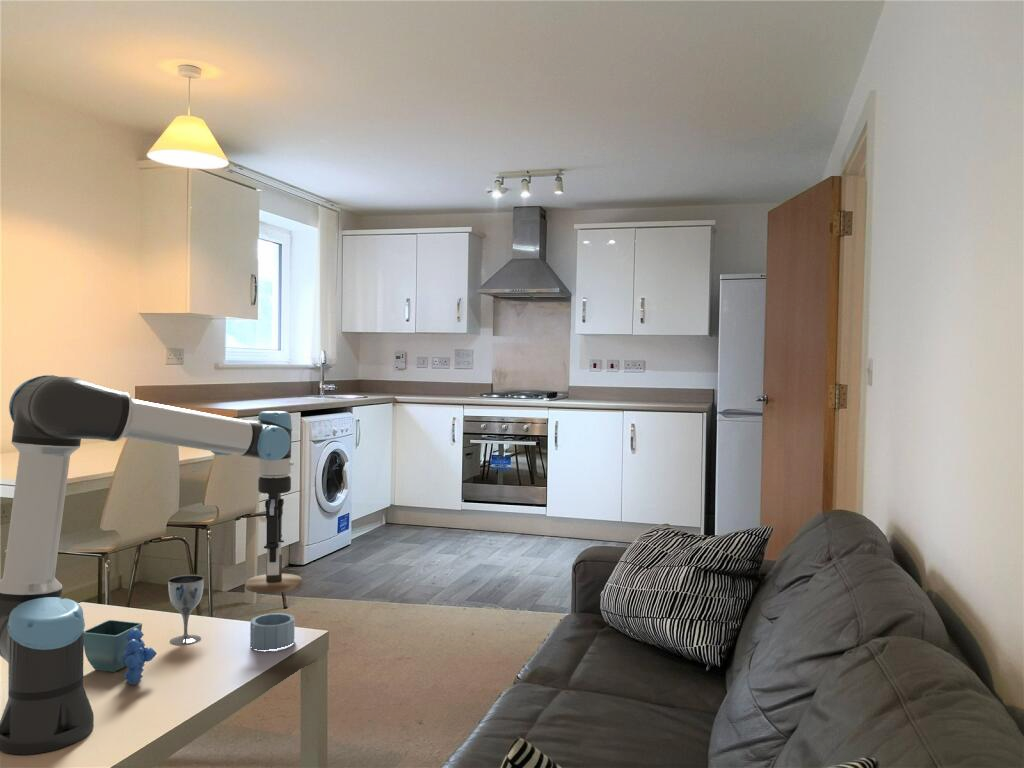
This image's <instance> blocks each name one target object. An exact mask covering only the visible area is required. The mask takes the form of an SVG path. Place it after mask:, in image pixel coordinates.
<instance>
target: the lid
mask: <svg viewBox="0 0 1024 768" xmlns="http://www.w3.org/2000/svg"><path fill="white" fill-rule="evenodd" d="M265 559H266V561H265V562H266V565H265V568H266V570H265V571H266V573H264V574H260V575H256V576H252V577H250V578H247V579H246V581H245V589H246V590H247V591H248V592H252V593H255V594H256V593H258V594H279V593H286V592H290V591H294V590H296V589H299V588H300V587H301V586H302V585H303V579H302V577H301V576H300V575H297V574H293V573H283V555H282V553H281V554H279V575H267V555H266V558H265Z"/></svg>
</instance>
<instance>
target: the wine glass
mask: <svg viewBox="0 0 1024 768" xmlns="http://www.w3.org/2000/svg"><path fill="white" fill-rule="evenodd" d="M204 580H205V578H204V576H203V575H200V574H181V575H176V576H175V575H174V576H173V577H169V579H168V585H167V586H168V596H169V600H170V603H171V605H172V606H173V607H174V608H175V609H176V610H177V611H178V612H179V614H180V615H181V616H182V621H183V634H182V635H180V636H176V637H173V638H171V639H170V641H169V643H170V645H172V646H173V645H174V646H187V645H194V644H195V643H198V642H201V640H202V637H201V636H199V635H197V634H188V626H189V618H190V615H191V613H192V612H193V611H194V609H195V608H196V607H197V606H198V605H199V603H200V602H201V599H202V597H203V594H204V583H205V581H204Z"/></svg>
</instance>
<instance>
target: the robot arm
mask: <svg viewBox="0 0 1024 768" xmlns="http://www.w3.org/2000/svg"><path fill="white" fill-rule="evenodd" d="M8 411H9V415H10V418H11V421H12V422H13V426H12V427H13V428H12V436H11V443H10V444H12V445H13V447H14V448H15V449H16V450H17V451H18V461H17V467H16V475H15V476H16V477H15V482H14V483H15V484H14V491H13V500H12V506H11V514H10V523H9V531H8V537H7V544H6V552H5V554H6V555H5V559H4V568H3V575H2V578H1V579H0V657H1V658H2V659H4V660H5V661H6V662H7V664H8V669H7V670H8V678H7V679H8V681H7V682H8V685H7V687H8V690H7V692H8V698H7V702H6V704H5V707H4V709H3V712H2V715H1V718H0V751H1V752H3V753H7V754H10V755H35V754H41V753H46V752H51V751H52V752H53V751H55V750H56V751H57V750H59V749H63V748H65V747H68V746H71V745H73V744H75V743H78V742H79V741H81V740H82V739H84V738H86V737H87V736H88V735H90V734H91V732H92V731H93V729H94V724H95V723H94V720H95V719H94V718H95V717H94V712H93V711H94V710H93V708H92V706H91V704H90V701H89V698H88V694H87V693H86V690H85V688H84V654H85V650H84V631H85V627H86V623H85V622H86V621H85V617H84V610H83V608H82V606H81V605H80V603H79V602H77V601H75V600H73V599H70V598H66V597H65V598H62V593H63V584H62V582H60V581H59V580H58V579H57V578H56V570H57V564H58V554H59V547H60V538H61V531H62V524H63V516H64V515H63V514H64V508H65V499H66V492H67V484H68V475H69V468H70V467H69V466H70V460H71V455H72V454H74V453H75V452H76V451H77V450H78V449H80V448H81V442H82V440H101V441H108V442H118V441H119V440H121V439H122V438H123V439H124V438H125V439H131V440H137V441H145V442H150V443H151V442H152V443H158V444H163V445H164V444H165V445H170V446H176V447H177V446H178V447H183V448H189V449H190V448H191V449H197V450H204V451H209V452H211V453H212V454H213V455H215V456H230V455H236V456H242V457H246V458H247V457H248V458H252V459H253V458H254V459H258V460H257V464H258V465H257V474H258V475H259V477H258V478H257V479H258V480H257V481H258V484H257V486H258V487H257V490H258V492H259V493H261V494H264V495H265V494H267V495H268V498H266V500H265V502H264V507H265V519H266V543H265V545H263V549H266V556H267V575H279V554H281V555H282V543H285V538H282V537H283V534H282V526H283V525H282V522H283V521H282V519H283V518H282V517H283V514H284V513H283V512H284V509H283V506H284V503H285V501H284V498H283V497H282V495H281V494H285V493H289V492H290V491H291V490H292V477H291V476H289V475H290V474H291V473H292V470H291V469H292V467H291V466H294V462H293V461H292V431H293V428H292V427H293V426H292V425H293V424H292V415H291V414H290V412H288V411H283V410H282V411H281V410H267V411H260V412H259V414H258V418H257V419H256V420H244V419H238V418H233V417H229V416H223V415H218V414H212V413H208V412H202V411H198V410H193V409H192V410H191V409H187V408H183V407H182V408H181V407H177V406H172V405H165V404H160V403H155V402H149V401H147V400H146V401H144V400H140V399H136V398H135V399H134V398H131V395H130V394H129V393H128V392H127V391H126V392H125V391H121V390H116V389H112V388H108V387H105V386H102V385H99V384H95V383H93V382H90V381H86V380H84V379H80V378H76V377H72V376H58V375H53V374H52V375H48V374H46V375H40V376H39V375H38V376H35V377H33V378H30V379H28V380H26V381H24V382H22V383H21V384H20V385H19V386H17V387H16V389H15V390H14V392H13V393H12V395H11V396H10V399H9V403H8Z"/></svg>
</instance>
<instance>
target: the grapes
mask: <svg viewBox="0 0 1024 768" xmlns="http://www.w3.org/2000/svg"><path fill="white" fill-rule="evenodd" d="M144 635H145V634H144V633H143V632H142V630H141V631H140V630H139V629H137V628H134V629H132V630H131V631H130V632H129V633H128V634H127V635H126V636H125V638H126V639H127V640H128V641H129V642H128V643H127V644H126V645H125V647H124V648H125V649H126V652H125V653H124V654H123V656H122V657H121V658H122V659H123V660H124V662H123V663H124V664H125V665H126V666H125V667H127V670H126V671H125V673H124V674H123V675H124V679H125V680H126V682H128V683H129V684H130V685H132V686H133V685H134V686H135V685H136V684H138V683H139V682H140V681H141V679H142V678H143V677H144V676H143V675H142V673H143V672H144V669H143V667H144V666H145V663H146V662H151V661H152V660H153V659H154V658H155V656H156V655H157V651H156V650H154V649H153V648H152V647H151V646H148V647H146V644H145V642H144V640H143V639H142V638H143V637H144Z"/></svg>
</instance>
